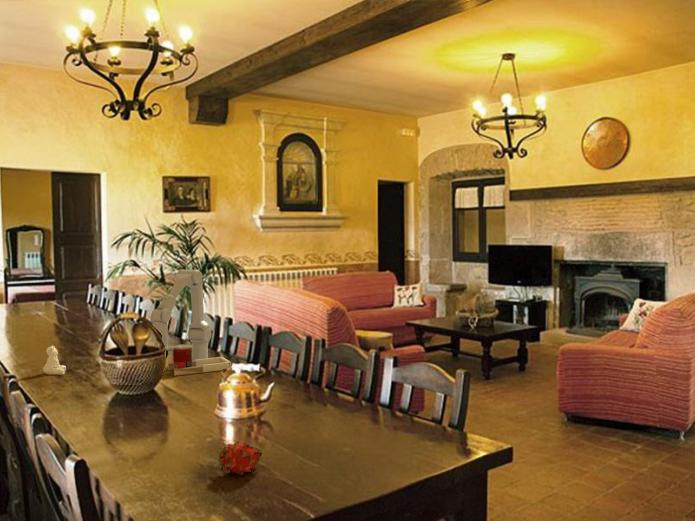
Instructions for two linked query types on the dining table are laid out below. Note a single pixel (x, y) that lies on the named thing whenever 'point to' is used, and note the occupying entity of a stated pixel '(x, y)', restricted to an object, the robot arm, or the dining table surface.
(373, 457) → the dining table surface
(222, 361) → the open frame
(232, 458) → the dragon fruit
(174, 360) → the canned food
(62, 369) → the white creature statuette
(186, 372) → the rail channel
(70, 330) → the dining table surface
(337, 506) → the dining table surface
